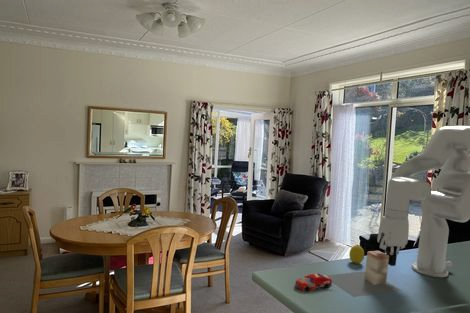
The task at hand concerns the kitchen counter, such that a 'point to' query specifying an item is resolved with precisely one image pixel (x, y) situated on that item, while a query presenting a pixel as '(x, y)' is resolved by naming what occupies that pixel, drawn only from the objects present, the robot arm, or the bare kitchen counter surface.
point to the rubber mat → (360, 284)
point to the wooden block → (376, 267)
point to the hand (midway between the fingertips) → (390, 264)
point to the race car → (313, 282)
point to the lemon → (356, 254)
